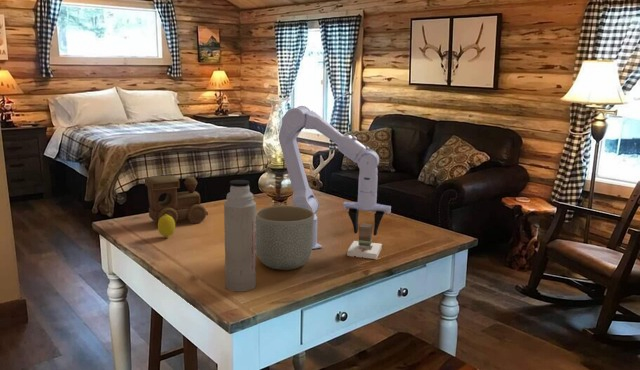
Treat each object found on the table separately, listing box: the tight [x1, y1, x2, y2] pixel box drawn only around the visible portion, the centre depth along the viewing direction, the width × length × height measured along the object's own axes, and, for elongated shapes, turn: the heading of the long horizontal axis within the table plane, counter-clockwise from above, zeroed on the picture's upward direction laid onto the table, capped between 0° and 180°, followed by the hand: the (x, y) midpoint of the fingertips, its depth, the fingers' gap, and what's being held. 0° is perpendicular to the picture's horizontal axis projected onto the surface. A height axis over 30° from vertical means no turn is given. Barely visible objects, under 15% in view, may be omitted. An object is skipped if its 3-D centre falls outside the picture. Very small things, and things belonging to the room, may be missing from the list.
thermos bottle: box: [223, 179, 257, 292], centre depth 141 cm, size 8×8×28 cm
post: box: [357, 222, 374, 246], centre depth 170 cm, size 4×4×6 cm
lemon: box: [157, 214, 176, 238], centre depth 179 cm, size 6×6×8 cm
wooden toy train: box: [144, 174, 209, 224], centre depth 196 cm, size 20×11×17 cm, turn 121°
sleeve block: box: [346, 240, 383, 260], centre depth 171 cm, size 10×9×2 cm
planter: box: [256, 205, 314, 271], centre depth 158 cm, size 17×17×15 cm
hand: (365, 233), depth 170 cm, fingers open, 5 cm apart
